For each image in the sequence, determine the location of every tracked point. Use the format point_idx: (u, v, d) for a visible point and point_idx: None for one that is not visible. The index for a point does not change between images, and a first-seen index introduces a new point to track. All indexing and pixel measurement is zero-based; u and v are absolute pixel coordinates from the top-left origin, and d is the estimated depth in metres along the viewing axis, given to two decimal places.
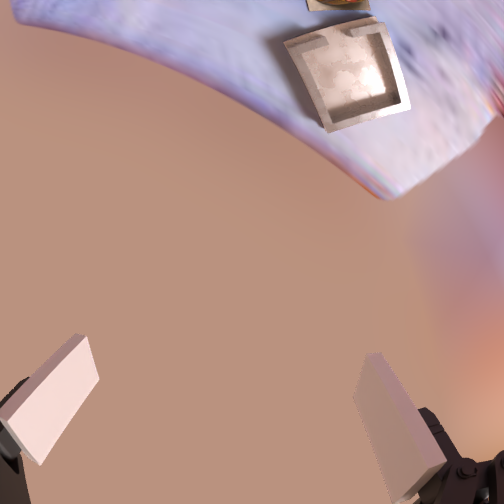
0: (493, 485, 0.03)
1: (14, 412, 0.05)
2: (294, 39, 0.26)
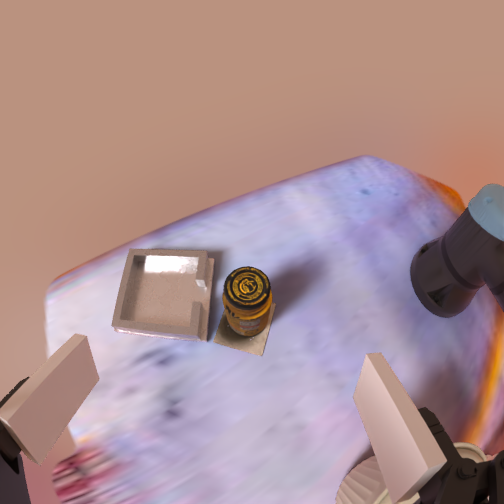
0: (493, 486, 0.03)
1: (14, 412, 0.05)
2: (212, 266, 0.44)
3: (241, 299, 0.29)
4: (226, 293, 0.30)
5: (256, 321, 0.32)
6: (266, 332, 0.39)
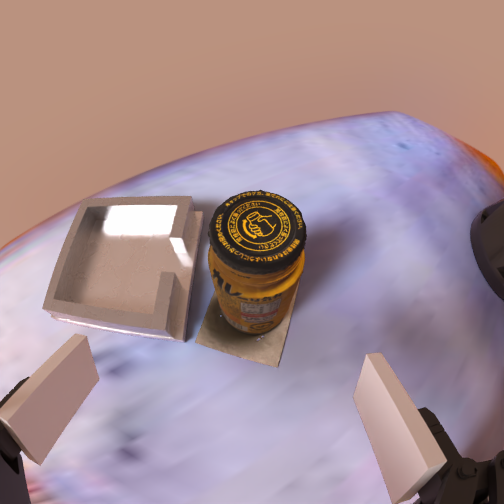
0: (493, 486, 0.03)
1: (14, 412, 0.05)
2: (198, 223, 0.28)
3: (245, 250, 0.13)
4: (213, 238, 0.14)
5: (273, 304, 0.17)
6: (285, 326, 0.23)
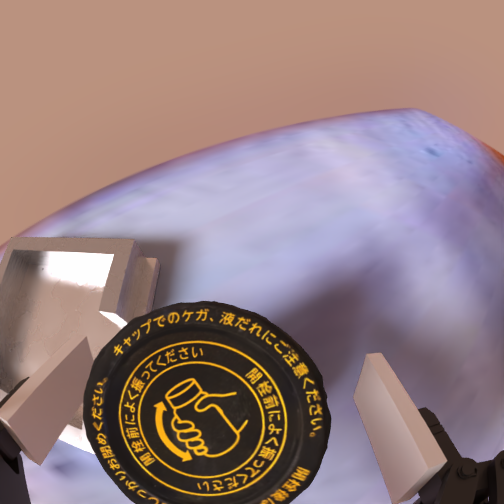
0: (493, 486, 0.03)
1: (14, 412, 0.05)
2: (150, 277, 0.18)
3: (164, 489, 0.03)
4: (90, 441, 0.04)
5: None
6: None
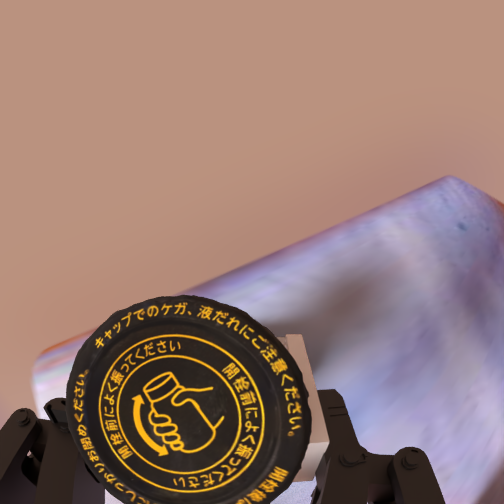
0: (392, 484, 0.05)
1: None
2: None
3: (141, 483, 0.03)
4: (72, 432, 0.04)
5: None
6: None
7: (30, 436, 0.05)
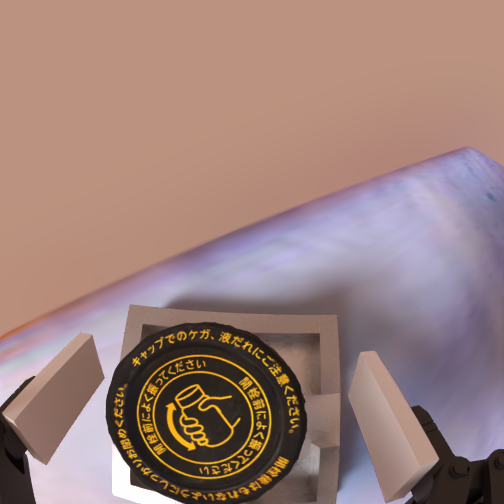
0: (487, 485, 0.03)
1: (20, 411, 0.05)
2: None
3: (172, 473, 0.05)
4: (112, 436, 0.05)
5: None
6: None
7: None
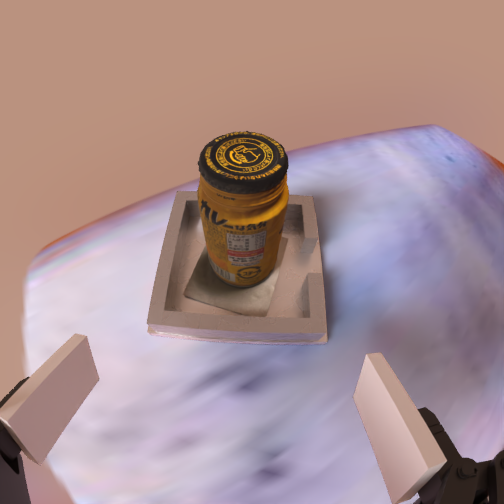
0: (493, 485, 0.03)
1: (14, 412, 0.05)
2: None
3: (231, 171, 0.14)
4: (202, 163, 0.14)
5: (259, 237, 0.17)
6: (273, 280, 0.24)
7: None
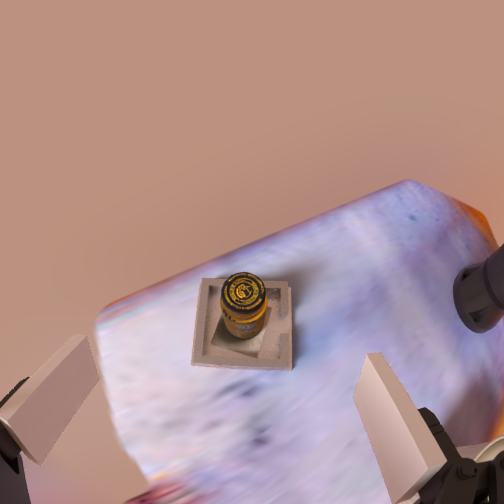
0: (493, 486, 0.03)
1: (14, 412, 0.05)
2: (290, 295, 0.44)
3: (237, 303, 0.31)
4: (223, 297, 0.31)
5: (252, 324, 0.34)
6: (262, 334, 0.40)
7: None
